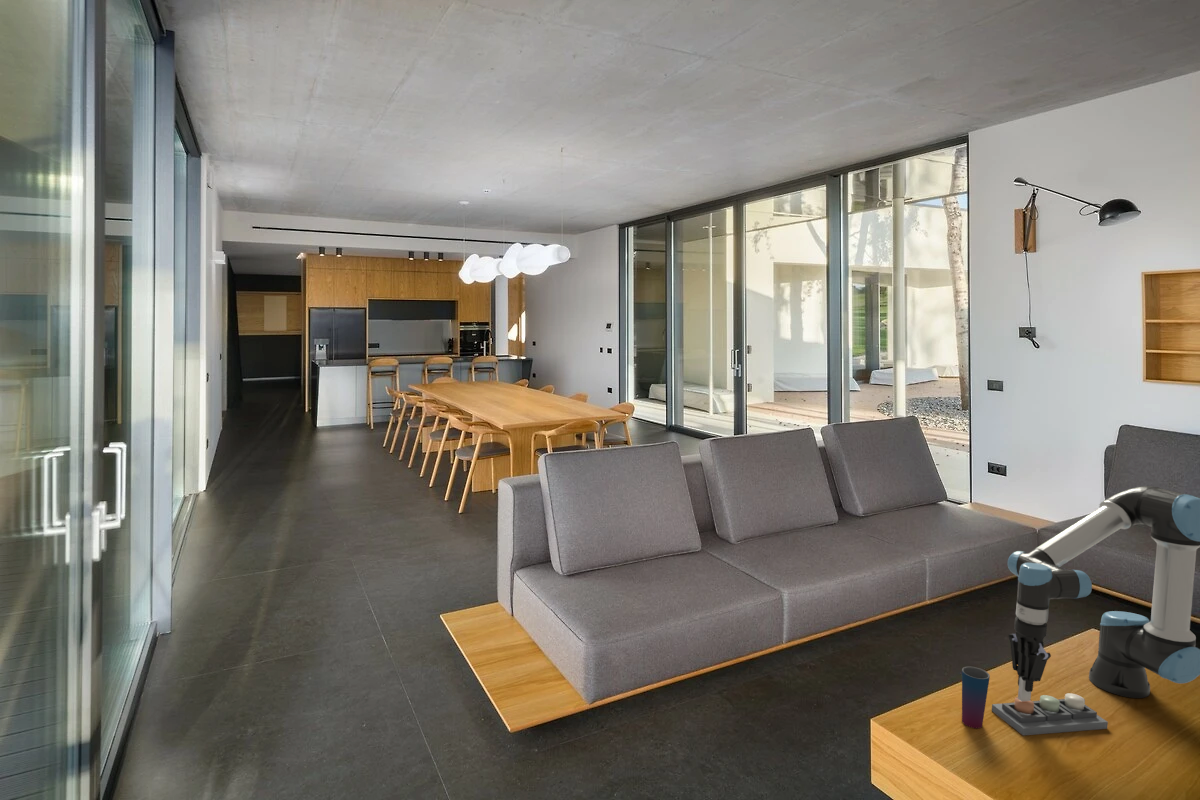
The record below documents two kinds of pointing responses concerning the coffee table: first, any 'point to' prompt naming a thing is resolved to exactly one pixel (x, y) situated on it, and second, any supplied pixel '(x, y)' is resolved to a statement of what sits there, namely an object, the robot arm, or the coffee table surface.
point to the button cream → (1074, 701)
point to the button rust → (1024, 706)
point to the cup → (974, 695)
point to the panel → (1049, 719)
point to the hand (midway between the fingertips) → (1024, 699)
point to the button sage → (1049, 703)
